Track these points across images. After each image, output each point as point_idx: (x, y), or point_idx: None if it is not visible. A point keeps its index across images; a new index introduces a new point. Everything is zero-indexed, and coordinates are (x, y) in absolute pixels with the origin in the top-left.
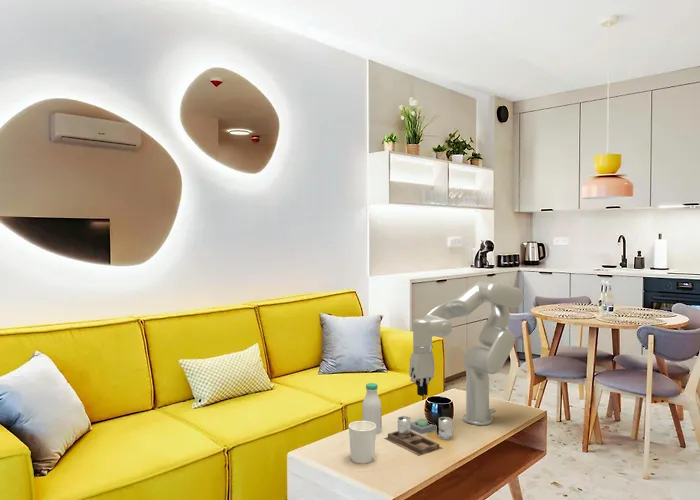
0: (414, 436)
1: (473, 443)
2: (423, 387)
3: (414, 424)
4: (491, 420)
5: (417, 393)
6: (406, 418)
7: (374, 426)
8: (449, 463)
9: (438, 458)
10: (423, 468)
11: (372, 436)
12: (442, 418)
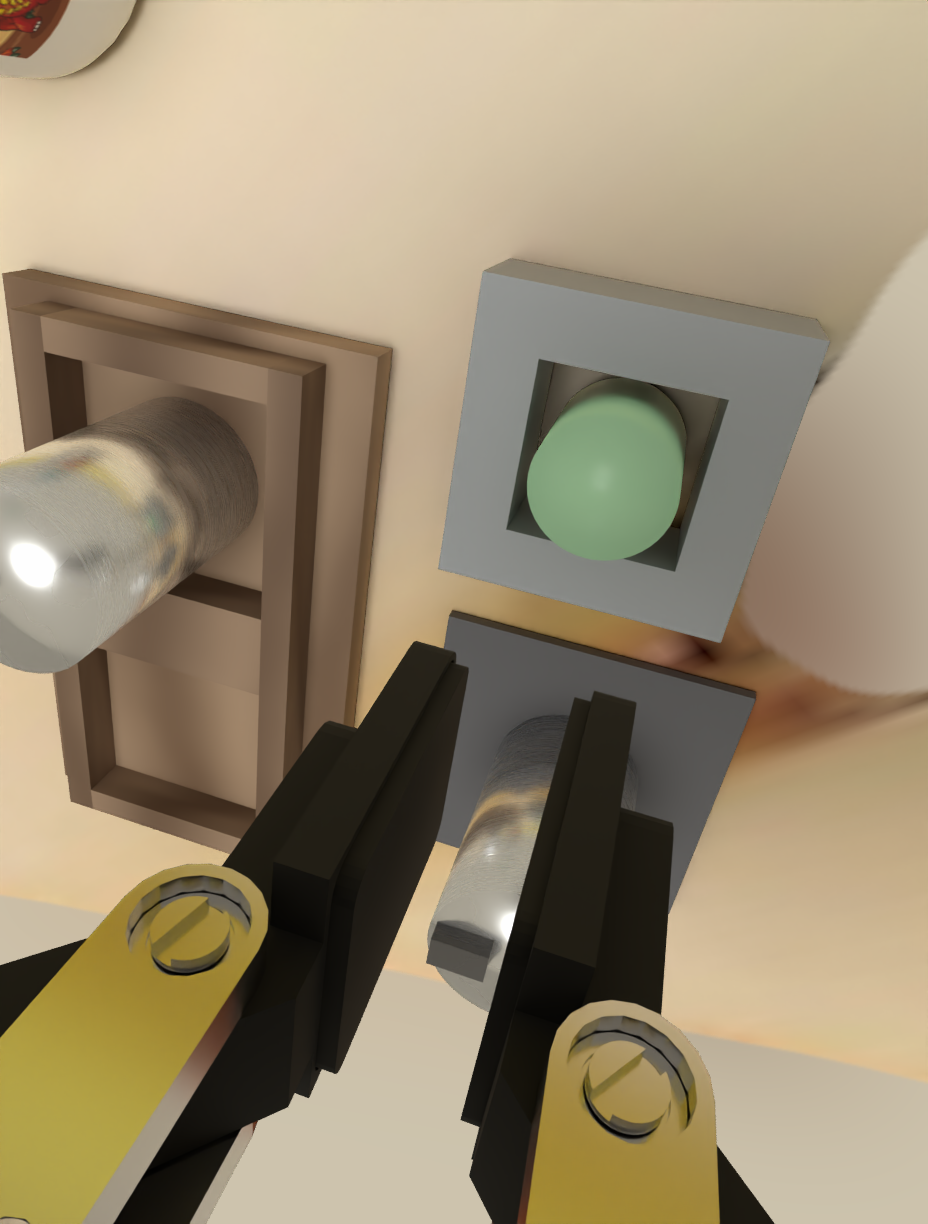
0: (221, 610)
1: (691, 974)
2: (323, 1057)
3: (516, 381)
4: None
5: (404, 661)
6: (31, 610)
7: None
8: None
9: (217, 856)
10: (29, 837)
11: None
12: (451, 962)
